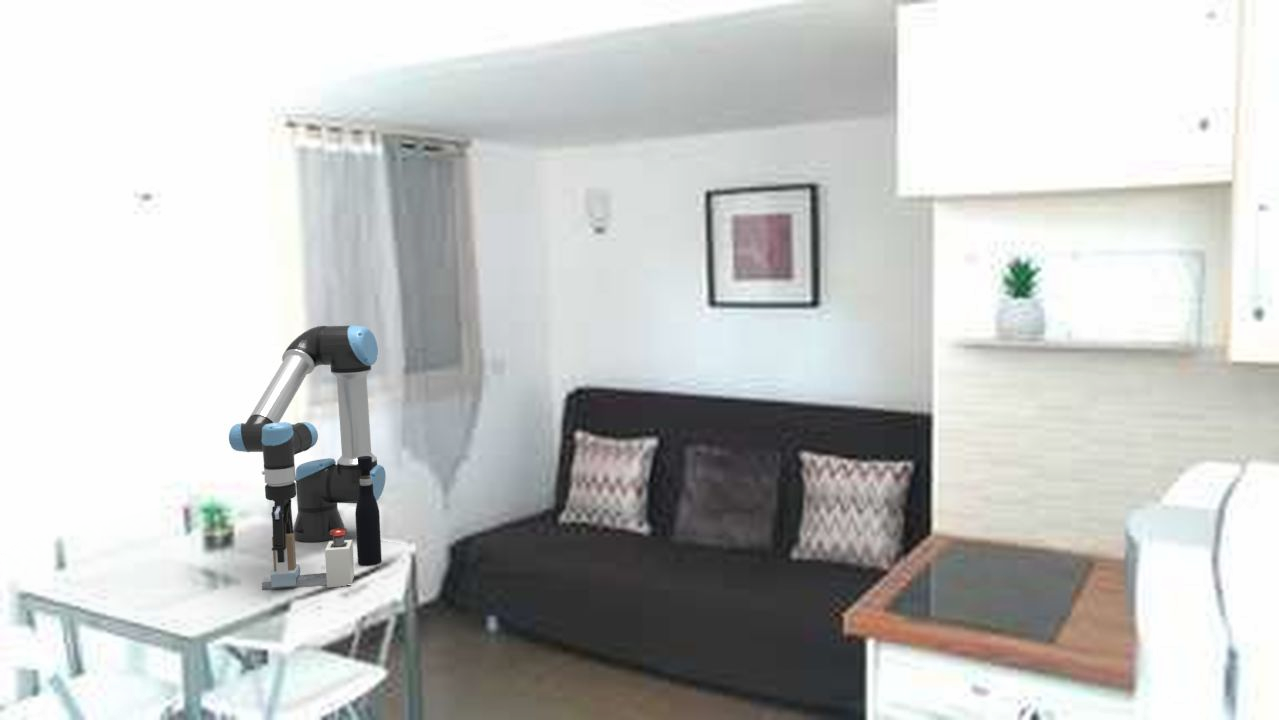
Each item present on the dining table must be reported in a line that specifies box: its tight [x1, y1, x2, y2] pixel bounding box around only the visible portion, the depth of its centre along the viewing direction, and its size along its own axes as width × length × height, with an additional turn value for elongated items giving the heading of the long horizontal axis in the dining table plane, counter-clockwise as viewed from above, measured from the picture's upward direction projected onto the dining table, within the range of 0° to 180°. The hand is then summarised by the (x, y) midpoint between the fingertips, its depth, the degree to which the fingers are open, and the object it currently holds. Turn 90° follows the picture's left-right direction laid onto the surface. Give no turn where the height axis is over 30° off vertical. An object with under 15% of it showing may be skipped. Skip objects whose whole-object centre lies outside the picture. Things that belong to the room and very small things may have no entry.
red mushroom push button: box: [330, 527, 347, 547], centre depth 259 cm, size 4×4×7 cm
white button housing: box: [324, 539, 355, 589], centre depth 259 cm, size 8×6×10 cm
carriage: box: [270, 533, 301, 587], centre depth 257 cm, size 7×6×12 cm
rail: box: [261, 572, 327, 590], centre depth 258 cm, size 4×16×2 cm, turn 100°
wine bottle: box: [354, 456, 383, 567], centre depth 274 cm, size 6×6×30 cm
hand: (285, 568), depth 257 cm, fingers closed on carriage, 7 cm apart
